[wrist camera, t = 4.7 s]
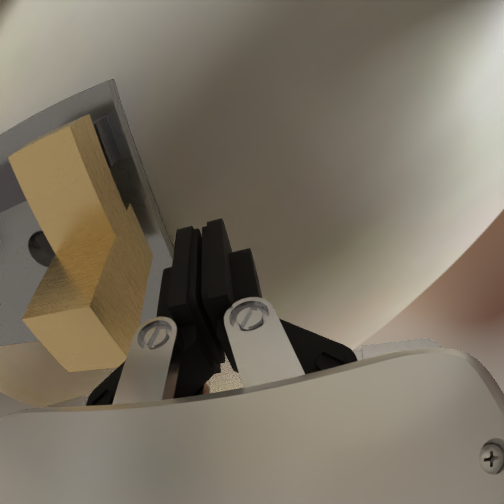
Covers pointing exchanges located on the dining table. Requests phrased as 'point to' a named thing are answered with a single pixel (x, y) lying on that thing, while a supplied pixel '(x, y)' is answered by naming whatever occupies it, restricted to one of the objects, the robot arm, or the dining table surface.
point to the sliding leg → (83, 250)
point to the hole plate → (27, 227)
